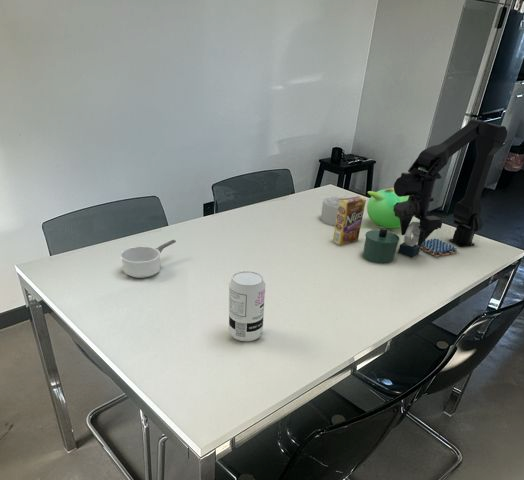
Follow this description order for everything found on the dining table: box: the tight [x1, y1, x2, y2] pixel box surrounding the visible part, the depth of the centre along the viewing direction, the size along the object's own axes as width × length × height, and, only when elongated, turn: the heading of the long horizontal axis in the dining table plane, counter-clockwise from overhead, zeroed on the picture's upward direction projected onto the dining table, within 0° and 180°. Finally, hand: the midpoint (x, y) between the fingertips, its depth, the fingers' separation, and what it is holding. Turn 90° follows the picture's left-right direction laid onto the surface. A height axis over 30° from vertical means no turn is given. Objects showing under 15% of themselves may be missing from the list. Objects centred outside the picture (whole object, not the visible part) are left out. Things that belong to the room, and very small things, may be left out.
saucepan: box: [119, 239, 177, 279], centre depth 138 cm, size 12×20×6 cm, turn 145°
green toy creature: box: [366, 187, 409, 229], centre depth 175 cm, size 18×17×15 cm
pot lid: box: [364, 226, 401, 244], centre depth 149 cm, size 11×11×4 cm
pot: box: [362, 237, 399, 265], centre depth 152 cm, size 10×10×7 cm
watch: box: [397, 221, 421, 259], centre depth 155 cm, size 6×8×11 cm
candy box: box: [332, 195, 367, 246], centre depth 159 cm, size 9×4×15 cm, turn 123°
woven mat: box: [416, 237, 458, 258], centre depth 161 cm, size 10×11×2 cm
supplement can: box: [228, 270, 266, 342], centre depth 108 cm, size 8×8×15 cm
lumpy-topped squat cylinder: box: [320, 195, 347, 227], centre depth 179 cm, size 10×13×9 cm
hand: (410, 240), depth 155 cm, fingers open, 9 cm apart
